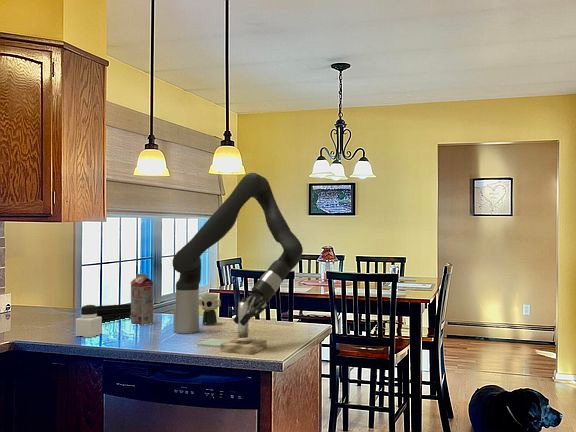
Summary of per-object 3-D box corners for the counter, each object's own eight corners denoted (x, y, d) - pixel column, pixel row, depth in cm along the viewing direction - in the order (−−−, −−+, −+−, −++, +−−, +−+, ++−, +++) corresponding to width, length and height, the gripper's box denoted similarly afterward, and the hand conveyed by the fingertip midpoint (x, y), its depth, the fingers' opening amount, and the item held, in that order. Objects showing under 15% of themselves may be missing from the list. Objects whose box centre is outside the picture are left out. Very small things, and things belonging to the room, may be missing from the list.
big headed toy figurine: (194, 324, 251) (194, 294, 251) (203, 322, 257) (203, 293, 258) (216, 326, 247) (216, 296, 247) (224, 324, 253) (224, 294, 253)
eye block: (220, 351, 199) (220, 344, 199) (236, 344, 210) (236, 337, 210) (252, 354, 195) (252, 347, 195) (266, 347, 206) (266, 340, 206)
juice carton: (141, 326, 249) (141, 274, 249) (131, 324, 252) (130, 274, 252) (153, 323, 254) (153, 273, 254) (142, 322, 258) (142, 273, 258)
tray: (108, 326, 249) (108, 314, 249) (65, 323, 257) (65, 311, 257) (148, 315, 278) (148, 304, 278) (107, 313, 286) (107, 302, 286)
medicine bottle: (102, 334, 230) (102, 304, 230) (90, 338, 223) (90, 307, 223) (87, 333, 232) (87, 303, 233) (75, 337, 226) (75, 306, 226)
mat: (196, 345, 209) (196, 343, 209) (210, 339, 219) (210, 338, 219) (221, 347, 206) (221, 345, 206) (234, 341, 215) (234, 340, 215)
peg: (236, 337, 202) (236, 302, 202) (240, 335, 205) (241, 301, 205) (245, 338, 200) (245, 303, 200) (250, 336, 204) (250, 302, 204)
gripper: (249, 277, 213) (221, 313, 205) (272, 280, 202) (243, 319, 194) (261, 290, 216) (233, 326, 208) (284, 294, 205) (256, 333, 197)
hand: (238, 323), depth 201 cm, fingers closed on peg, 3 cm apart
